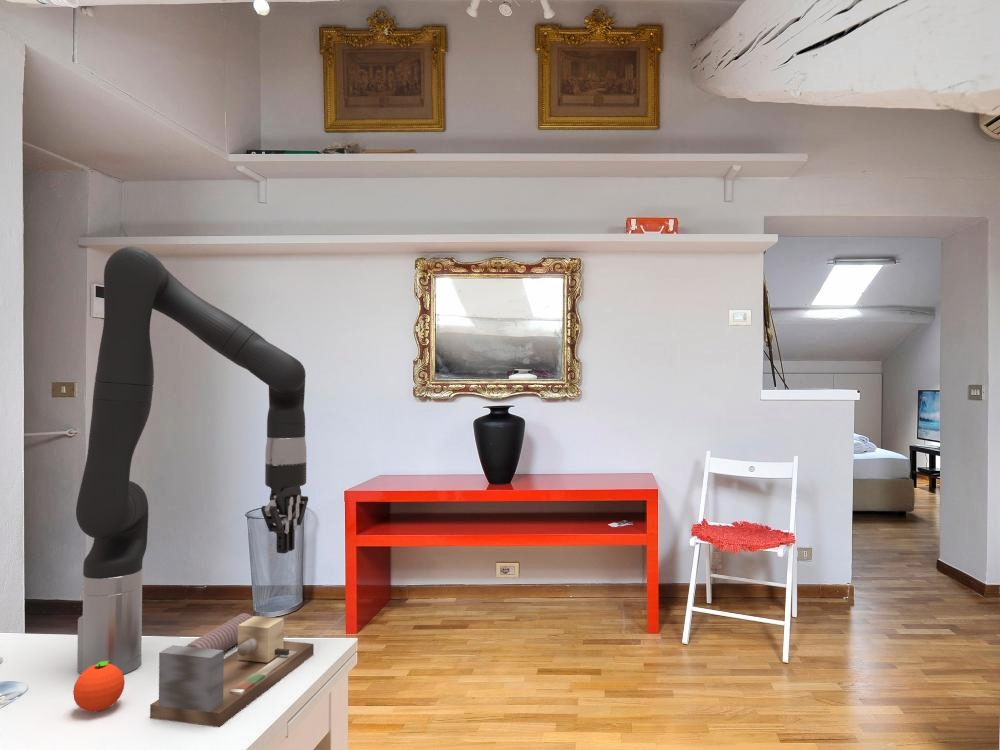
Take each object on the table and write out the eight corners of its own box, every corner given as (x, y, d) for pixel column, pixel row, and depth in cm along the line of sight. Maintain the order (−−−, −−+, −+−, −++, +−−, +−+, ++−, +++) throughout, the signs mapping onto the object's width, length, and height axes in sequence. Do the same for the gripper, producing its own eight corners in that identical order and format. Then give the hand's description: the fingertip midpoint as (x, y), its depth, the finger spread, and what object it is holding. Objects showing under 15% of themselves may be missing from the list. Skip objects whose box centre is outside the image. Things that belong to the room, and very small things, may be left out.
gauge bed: (150, 717, 102) (150, 651, 103) (256, 648, 130) (257, 596, 130) (219, 726, 100) (219, 658, 100) (313, 654, 127) (313, 601, 127)
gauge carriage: (227, 666, 116) (227, 631, 116) (254, 648, 124) (254, 616, 124) (270, 670, 114) (270, 635, 114) (295, 652, 122) (295, 619, 122)
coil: (203, 647, 120) (258, 613, 137) (180, 642, 121) (238, 610, 138) (201, 673, 120) (256, 636, 137) (178, 668, 121) (236, 632, 138)
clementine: (86, 698, 109) (87, 654, 109) (133, 694, 110) (133, 651, 110) (64, 722, 101) (65, 674, 101) (115, 718, 102) (115, 670, 102)
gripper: (287, 456, 137) (287, 542, 136) (247, 464, 123) (246, 559, 123) (321, 457, 135) (320, 544, 134) (284, 465, 122) (283, 561, 121)
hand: (285, 551), depth 129 cm, fingers closed
